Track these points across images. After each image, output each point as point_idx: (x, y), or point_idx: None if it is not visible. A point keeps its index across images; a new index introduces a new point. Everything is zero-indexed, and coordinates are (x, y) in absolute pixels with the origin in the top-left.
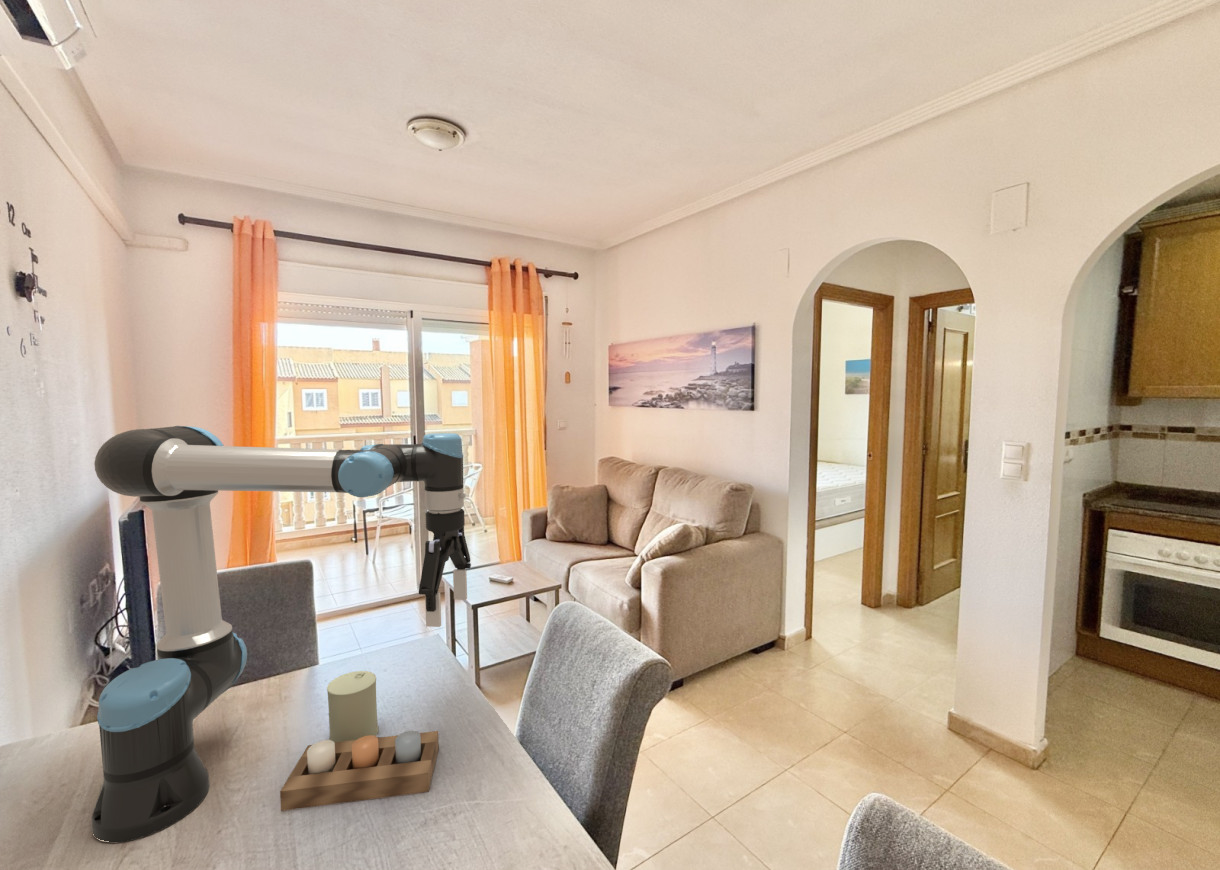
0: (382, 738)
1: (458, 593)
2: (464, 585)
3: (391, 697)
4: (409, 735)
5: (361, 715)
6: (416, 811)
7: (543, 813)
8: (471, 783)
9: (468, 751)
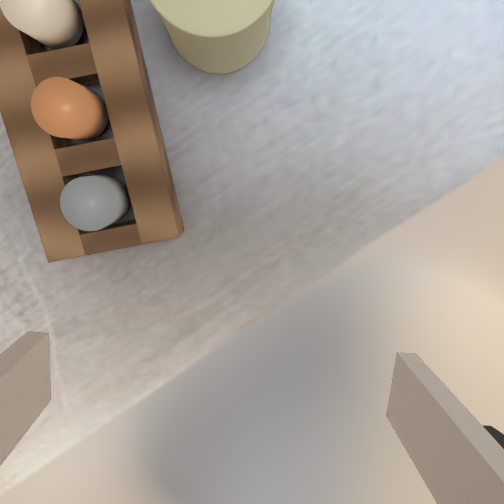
0: (145, 118)
1: (407, 398)
2: (422, 471)
3: (373, 40)
4: (97, 204)
5: (174, 37)
6: (17, 249)
7: (40, 441)
8: (92, 320)
9: (175, 290)
